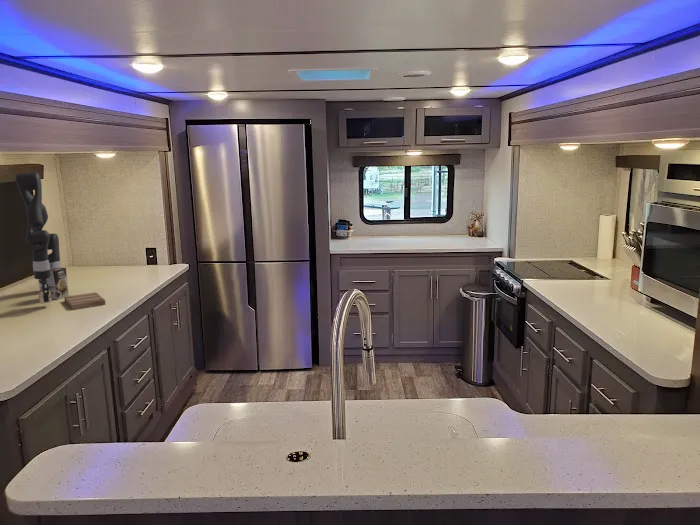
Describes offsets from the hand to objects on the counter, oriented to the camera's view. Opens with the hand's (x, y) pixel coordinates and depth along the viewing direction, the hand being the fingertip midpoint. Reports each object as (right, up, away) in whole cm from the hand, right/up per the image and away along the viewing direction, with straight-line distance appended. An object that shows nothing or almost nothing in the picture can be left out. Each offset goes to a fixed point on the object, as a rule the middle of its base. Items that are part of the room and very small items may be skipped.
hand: (45, 300), depth 286 cm
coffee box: (-3, 0, +19) cm, 19 cm away
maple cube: (0, -1, 0) cm, 1 cm away
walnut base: (+17, -2, +8) cm, 19 cm away
